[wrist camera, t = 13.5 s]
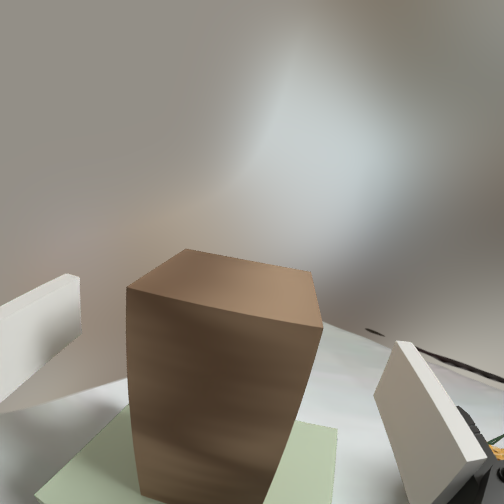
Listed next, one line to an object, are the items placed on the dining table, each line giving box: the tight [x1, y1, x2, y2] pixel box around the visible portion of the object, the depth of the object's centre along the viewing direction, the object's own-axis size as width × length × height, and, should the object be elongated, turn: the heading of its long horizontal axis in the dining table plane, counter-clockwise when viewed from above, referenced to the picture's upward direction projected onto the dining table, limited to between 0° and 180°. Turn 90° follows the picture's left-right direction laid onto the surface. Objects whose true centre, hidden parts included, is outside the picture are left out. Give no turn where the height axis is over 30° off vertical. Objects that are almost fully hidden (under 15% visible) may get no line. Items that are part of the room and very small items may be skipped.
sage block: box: [34, 404, 337, 504], centre depth 13 cm, size 12×12×5 cm
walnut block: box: [126, 249, 323, 504], centre depth 11 cm, size 5×5×10 cm
